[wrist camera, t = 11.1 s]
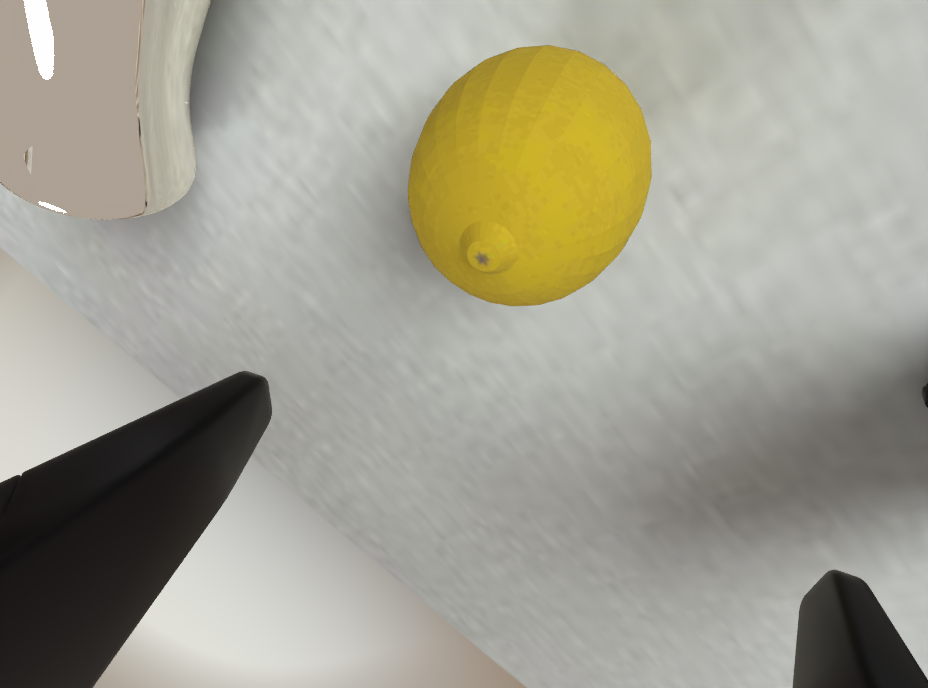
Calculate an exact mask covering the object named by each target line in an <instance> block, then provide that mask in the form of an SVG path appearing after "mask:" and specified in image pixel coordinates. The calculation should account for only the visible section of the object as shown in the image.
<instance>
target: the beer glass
mask: <svg viewBox="0 0 928 688" xmlns="http://www.w3.org/2000/svg"><path fill="white" fill-rule="evenodd" d="M210 3H211V0H0V183H1V184H2V185H3V186H4V187H6V188H7V189H8V190H10V191H11V192H13V193H14V194H16V195H17V196H19V197H21V198H23V199H24V200H26V201H28V202H31V203H33V204H35V205H37V206H40V207H42V208H45V209H48V210H51V211H54V212H57V213H61V214H65V215H69V216H74V217H80V218H87V219H99V220H119V219H129V218H136V217H141V216H145V215H149V214H153V213H156V212H158V211H161V210H163V209H166V208H168V207H169V206H171V205H173V204H174V203H176V202H177V201H179V200H180V199H181V198H182V197H183V196H184V195H185V194H186V193H187V192H188V190H189V189H190V187H191V185H192V183H193V181H194V178H195V174H196V155H195V148H194V141H193V134H192V127H191V119H190V103H189V101H190V82H191V76H192V70H193V64H194V58H195V54H196V50H197V47H198V43H199V40H200V36H201V32H202V29H203V25H204V22H205V19H206V16H207V13H208V9H209V6H210Z"/></svg>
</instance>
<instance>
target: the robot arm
mask: <svg viewBox="0 0 928 688" xmlns="http://www.w3.org/2000/svg"><path fill="white" fill-rule="evenodd" d="M922 396H923V399H924V402H925V405H926V406H927V407H928V384H927V385H926V386H924V387H923V390H922ZM271 416H272V405H271V399H270V392H269V385H268V381H267V380H266V378H265V377H263V376H260V375H257V374H254V373H251V372H248V371H242V372H238V373H236V374H234V375H232V376H230V377H227V378H225V379H223V380H221V381H219V382H217V383H215V384H212V385H210V386H208V387H206V388H204V389H202V390H199V391H197V392H195V393H193V394H191V395H189V396H187V397H184V398H182V399H180V400H178V401H176V402H174V403H171V404H169V405H167V406H165V407H163V408H161V409H159V410H157V411H154V412H152V413H150V414H148V415H146V416H143V417H141V418H139V419H137V420H135V421H133V422H131V423H128V424H126V425H124V426H122V427H120V428H118V429H115V430H113V431H111V432H109V433H107V434H105V435H103V436H100V437H98V438H96V439H94V440H92V441H90V442H88V443H86V444H83V445H81V446H79V447H77V448H75V449H73V450H70V451H68V452H66V453H64V454H62V455H60V456H58V457H55V458H53V459H51V460H49V461H47V462H44V463H42V464H40V465H38V466H36V467H34V468H32V469H29V470H27V471H25V472H24V473H22V476H20V475H16V476H14V477H12V478H10V479H8V480H5V481H3V482H1V483H0V688H93V686H94V685H95V683H96V682H97V681H98V679H99V678H100V677H101V675H102V674H103V672H104V671H105V670H106V668H107V667H108V665H109V664H110V662H111V661H112V660H113V658H114V657H115V655H116V654H117V652H118V651H119V650H120V648H121V647H122V646H123V644H124V643H125V641H126V640H127V638H128V637H129V636H130V634H131V633H132V631H133V630H134V629H135V627H136V626H137V624H138V623H139V622H140V620H141V619H142V617H143V616H144V615H145V613H146V612H147V610H148V609H149V608H150V606H151V605H152V603H153V602H154V600H155V599H156V598H157V596H158V595H159V593H160V592H161V590H162V589H163V588H164V586H165V585H166V584H167V582H168V581H169V579H170V578H171V577H172V575H173V574H174V572H175V571H176V570H177V568H178V567H179V565H180V564H181V563H182V561H183V560H184V558H185V557H186V555H187V554H188V552H189V551H190V550H191V548H192V547H193V546H194V544H195V543H196V541H197V540H198V539H199V537H200V536H201V534H202V533H203V532H204V530H205V529H206V527H207V526H208V524H209V523H210V522H211V520H212V519H213V518H214V516H215V514H216V513H217V512H218V510H219V509H220V508H221V506H222V504H223V503H224V501H225V500H226V499H227V497H228V495H229V493H230V492H231V490H232V489H233V487H234V485H235V483H236V482H237V480H238V478H239V476H240V474H241V473H242V471H243V469H244V467H245V465H246V464H247V462H248V460H249V458H250V456H251V455H252V453H253V451H254V449H255V448H256V446H257V444H258V442H259V440H260V439H261V437H262V435H263V433H264V431H265V430H266V428H267V426H268V424H269V422H270V419H271ZM793 688H928V680H927V678H926V676H925V675H924V673H923V672H922V670H921V668H920V667H919V665H918V664H917V662H916V661H915V659H914V657H913V656H912V654H911V653H910V651H909V649H908V648H907V646H906V645H905V643H904V641H903V640H902V638H901V637H900V635H899V634H898V632H897V630H896V629H895V627H894V626H893V624H892V622H891V621H890V619H889V618H888V616H887V615H886V613H885V611H884V610H883V608H882V607H881V605H880V603H879V602H878V600H877V599H876V597H875V596H874V594H873V592H872V591H871V589H870V588H869V586H868V585H867V584H866V583H865V582H864V581H863V580H862V579H860V578H858V577H856V576H853V575H850V574H847V573H844V572H841V571H838V570H831V571H828V572H827V573H826V574H825V575H824V576H823V577H822V578H821V579H820V580H819V581H818V582H817V583H816V584H815V585H814V586H813V587H812V588H811V590H810V591H809V592H808V593H807V594H806V595H805V596H804V598H803V600H802V602H801V605H800V610H799V620H798V631H797V643H796V655H795V666H794V678H793Z"/></svg>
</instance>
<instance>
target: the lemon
mask: <svg viewBox="0 0 928 688" xmlns="http://www.w3.org/2000/svg"><path fill="white" fill-rule="evenodd" d="M650 182H651V141H650V137H649V134H648V131H647V127H646V124H645V120H644V117H643V114H642V110H641V108H640V107H639V105H638V103H637V102H636V100H635V99H634V97H633V95H632V94H631V92H630V91H629V89H628V88H627V86H626V84H625V83H624V82H623V81H621V80H620V79H619V78H618V77H617V76H616V75H615V74H614V73H613V72H612V71H611V70H609V69H608V68H607V67H606V66H605V65H604V64H602V63H600V62H598V61H596V60H595V59H593V58H591V57H589V56H587V55H585V54H583V53H581V52H579V51H575V50H570V49H565V48H560V47H555V46H550V45H546V46H533V47H520V48H516V49H513V50H510V51H507V52H505V53H502V54H499V55H496V56H494V57H491V58H488V59H486V60H484V61H483V62H481V63H480V64H479V65H477V66H476V67H474V68H473V69H472V70H470V71H469V72H468V73H466V74H465V75H464V76H462V77H461V78H460V79H458V80H457V81H456V82H454V84H453V85H452V86H451V87H450V88H449V89H448V91H447V92H446V93H445V95H444V96H443V97H442V99H441V100H440V101H439V103H438V104H437V105H436V106H435V108H434V109H433V110H432V112H431V114H430V115H429V117H428V119H427V121H426V123H425V125H424V128H423V130H422V133H421V135H420V138H419V140H418V143H417V145H416V148H415V150H414V153H413V156H412V161H411V168H410V177H409V185H408V199H409V206H410V213H411V220H412V223H413V226H414V228H415V231H416V234H417V236H418V239H419V241H420V244H421V246H422V248H423V250H424V251H425V253H426V254H427V256H428V257H429V259H430V260H431V262H432V263H433V265H434V266H435V267H436V268H437V269H438V270H439V271H440V272H441V273H442V274H443V275H444V276H445V277H446V278H447V279H448V280H449V281H450V282H452V283H453V284H455V285H456V286H458V287H459V288H461V289H462V290H464V291H465V292H467V293H469V294H470V295H473V296H475V297H478V298H480V299H483V300H486V301H488V302H491V303H497V304H502V305H508V306H530V305H540V304H544V303H547V302H551V301H555V300H558V299H562V298H564V297H566V296H568V295H569V294H571V293H573V292H575V291H576V290H578V289H580V288H582V287H583V286H585V285H587V284H589V283H590V282H591V281H592V280H594V279H595V278H596V277H597V276H598V275H599V274H600V273H601V272H602V271H603V270H604V269H605V268H606V267H607V266H608V265H609V264H610V263H611V262H612V261H613V260H614V259H615V258H616V257H617V256H618V255H619V253H620V252H621V251H622V249H623V248H624V246H625V245H626V243H627V241H628V239H629V238H630V236H631V234H632V232H633V231H634V229H635V227H636V226H637V224H638V222H639V220H640V218H641V216H642V213H643V210H644V206H645V202H646V198H647V194H648V190H649V186H650Z"/></svg>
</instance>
